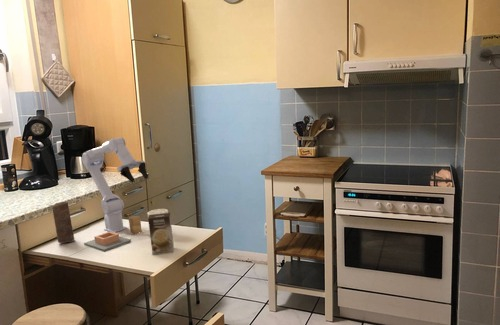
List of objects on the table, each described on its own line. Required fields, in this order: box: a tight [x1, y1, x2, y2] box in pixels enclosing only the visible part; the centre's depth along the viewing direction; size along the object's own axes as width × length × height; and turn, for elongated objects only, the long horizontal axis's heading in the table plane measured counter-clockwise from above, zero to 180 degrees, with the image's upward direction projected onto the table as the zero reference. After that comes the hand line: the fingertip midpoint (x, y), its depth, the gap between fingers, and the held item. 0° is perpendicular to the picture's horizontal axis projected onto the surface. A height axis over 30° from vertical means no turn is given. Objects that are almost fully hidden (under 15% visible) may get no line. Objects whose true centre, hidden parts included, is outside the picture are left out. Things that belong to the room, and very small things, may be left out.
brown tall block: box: [51, 201, 75, 244], centre depth 201 cm, size 8×7×20 cm
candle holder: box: [146, 208, 169, 218], centre depth 199 cm, size 10×10×12 cm
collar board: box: [83, 231, 132, 253], centre depth 195 cm, size 18×14×4 cm
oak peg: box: [128, 215, 143, 235], centre depth 207 cm, size 4×4×8 cm
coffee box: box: [147, 212, 175, 256], centre depth 176 cm, size 9×6×16 cm
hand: (140, 179), depth 195 cm, fingers open, 7 cm apart
